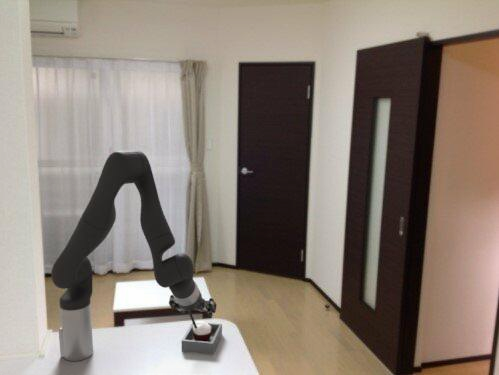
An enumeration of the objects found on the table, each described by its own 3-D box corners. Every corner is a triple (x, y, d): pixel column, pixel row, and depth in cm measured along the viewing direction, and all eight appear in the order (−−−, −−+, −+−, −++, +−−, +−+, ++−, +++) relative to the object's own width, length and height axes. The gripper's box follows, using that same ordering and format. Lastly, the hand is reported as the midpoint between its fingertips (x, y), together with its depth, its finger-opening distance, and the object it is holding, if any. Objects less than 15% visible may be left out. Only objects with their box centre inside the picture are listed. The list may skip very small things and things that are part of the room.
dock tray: (181, 351, 156) (181, 340, 155) (193, 332, 169) (192, 321, 168) (212, 354, 154) (212, 343, 154) (222, 334, 168) (222, 324, 167)
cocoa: (213, 336, 165) (214, 303, 164) (215, 344, 159) (216, 310, 158) (185, 337, 163) (186, 304, 162) (187, 346, 157) (188, 311, 156)
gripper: (212, 283, 141) (220, 302, 154) (166, 279, 143) (178, 299, 156) (207, 307, 137) (216, 325, 150) (160, 303, 139) (173, 321, 152)
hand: (197, 312), depth 153 cm, fingers open, 8 cm apart
